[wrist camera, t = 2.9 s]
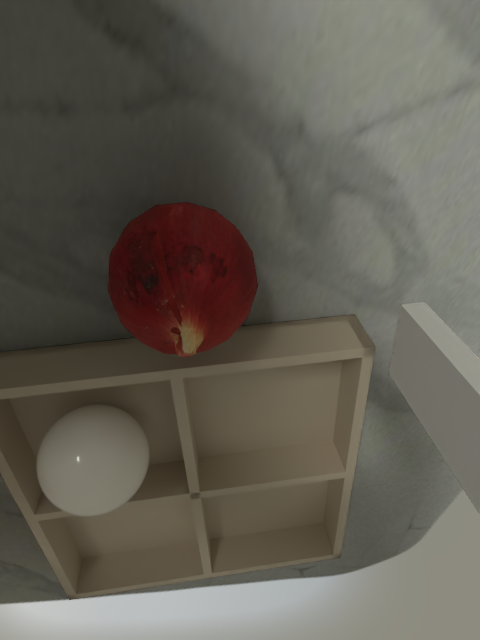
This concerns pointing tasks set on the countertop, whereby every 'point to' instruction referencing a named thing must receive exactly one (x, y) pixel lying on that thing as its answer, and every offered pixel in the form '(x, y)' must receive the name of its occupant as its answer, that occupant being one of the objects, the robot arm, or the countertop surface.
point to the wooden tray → (198, 451)
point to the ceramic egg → (92, 460)
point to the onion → (182, 278)
